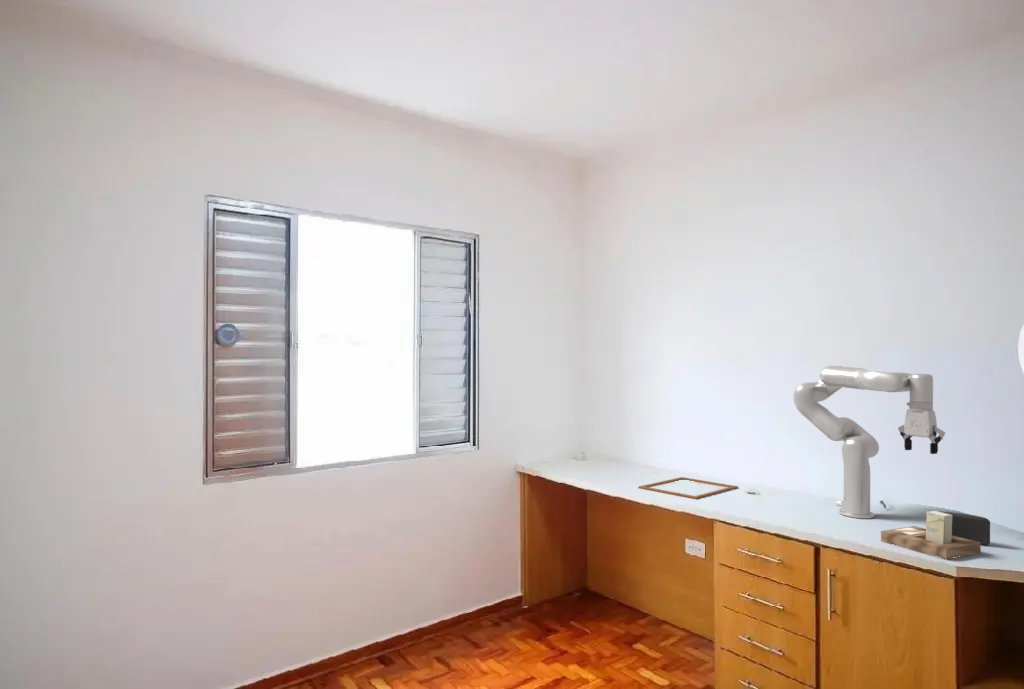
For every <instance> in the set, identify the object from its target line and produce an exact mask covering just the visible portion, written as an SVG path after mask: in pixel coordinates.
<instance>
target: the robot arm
mask: <svg viewBox="0 0 1024 689" xmlns="http://www.w3.org/2000/svg"><path fill="white" fill-rule="evenodd" d="M842 388H845V389H856V390H868V391H875V392H876V391H877V392H885V393H902V392H903V393H905V392H909V401H908V402H907V403H906V406H907V407H908V408H907V409H906V413H905V416H904V417H905V418H904V424H903V425H900V426H898V428H897V430H898V432H899V435H900V436H901V437H902V439H903V441H904V444H903V445H904V451H911V450H912V449H913V444H912V443H913V440H912V437H918V438H928V439H929V441H930V443H929V448H930V450H929V454H931V455H936V454H938V451H939V444H940V442H941V441H942V440H944V437H945V435H946V432H945V431H944V430H942V429H940V428H939V427H938V423H937V417H936V416H937V415H936V412H935V410H934V377H933V374H930V373H929V374H928V373H908V372H888V371H886V372H885V371H876V370H868V369H865V368H862V367H850V366H849V367H848V366H842V365H829V366H825V367H823V368H822V369H821V370H820V372H819V379H818V380H817V381H813V382H802V383H801V384H799V385H797V387H796V388H795V390H794V392H793V402H794V406H795V407H796V410H797V411H798V412H799V413H800V414H801V415H802V416H803V417H804V418H806V419H807V420H808V421H809V422H810V423H811V424H813V426H815V427H816V428H817V429H818V430H819V431H821V432H822V434H824V435H825V437H827V438H828V439H829V440H830V441H833V442H842V441H843V444H842V445H841V455H842V461H843V500H837V501H836V503H835V505H836V507H837V506H838V507H840V509H839V513H838V514H840V515H842V516H845V517H848V518H855V519H867V520H868V519H873V518H875V513H874V512H873V511H871V465H870V460H869V459H871V458H875V456H877V454H878V453H879V450H880V445H879V442H878V440H877V439H876V438H875V437H874V436H873V435H872V434H870V433H869V431H867V430H865V429H864V428H863V427H862V426H861V425H859V424H858V423H857V422H856V421H854V420H853V419H851V418H849V417H845V416H844V417H838V416H837V415H835V414H834V413H832V412H831V411H830V410H829V409H828V408H826V407H825V406H823V405H822V404H820V402H823V401H826V400H827V399H828V398H830V397H831V396H832V395H834V394H835V393H837V392H838V391H839V390H841V389H842ZM937 435H938V436H937Z"/></svg>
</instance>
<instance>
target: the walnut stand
mask: <svg viewBox="0 0 1024 689" xmlns="http://www.w3.org/2000/svg"><path fill="white" fill-rule="evenodd" d="M882 541H883V543H885V542H886V544H889V543H890V545H892V544H894V545H893V546H896V545H898V546H897V547H899V546H901V547H900V548H903V547H904V549H906V548H908V549H907V550H910V549H911V550H910V551H913V550H915V551H914V552H917V551H919V552H918V553H920V552H923V553H922V554H924V553H926V554H925V555H927V554H930V555H929V556H931V555H934V556H938V557H941V558H945V559H948V560H950V559H949V558H953V557H958V558H962V557H961V556H964V557H967V556H966V555H969V556H973V554H974V555H978V553H979V554H981V549H982V548H981V546H982V545H981V543H980V542H976V541H972V540H968V539H964V538H960V537H956V536H952V539H951V544H946V545H944V544H940V543H936V542H932V541H929V540H926V528H925V527H924V528H923V527H920V526H916V525H913V526H907V527H906V526H904V527H899V528H893V529H887V530H881V531H880V542H882ZM934 556H933V557H934ZM959 556H960V557H959ZM938 557H937V558H938ZM941 558H940V559H941ZM945 559H944V560H945ZM953 559H954V558H953Z"/></svg>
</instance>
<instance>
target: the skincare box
mask: <svg viewBox="0 0 1024 689" xmlns="http://www.w3.org/2000/svg"><path fill="white" fill-rule="evenodd" d="M942 512H943V511H937V510H928V511H926V518H925V520H926V521H925V522H926V523H925V529H926V540H929V541H932V542H936V543H940V544H944V545H946V544H951V539H952V515H950V514H946V513H942Z"/></svg>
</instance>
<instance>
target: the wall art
mask: <svg viewBox="0 0 1024 689" xmlns="http://www.w3.org/2000/svg"><path fill="white" fill-rule="evenodd" d="M679 480H689V481H694V482H690V483H693V484H697V485H704V486H709V487H715V488H717V489H714V490H710V491H706V492H702V493H697V494H694V495H691V494H687V493H680V492H676V491H670V490H664V489H659V488H662V487H665V486H666V487H667V486H671V485H675V484H676V485H677V484H679V483H681V482H675V481H679ZM637 489H640V490H641V489H642V490H644V491H650V492H655V493H661V494H667V495H670V496H675V497H676V496H677V497H681V498H687V499H691V500H692V499H693V500H700V499H704V498H707V497H711V496H715V495H719V494H724V493H726V492H730V491H734V490H737V489H739V486H738V485H732V484H726V483H722V482H721V483H720V482H713V481H709V480H708V481H707V480H702V479H696V478H695V479H694V478H689V477H685V476H684V477H683V476H681V477H680V476H679V477H675V478H672V479H667V480H662V481H657V482H652V483H648V484H644V485H639V486H638V488H637Z"/></svg>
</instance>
